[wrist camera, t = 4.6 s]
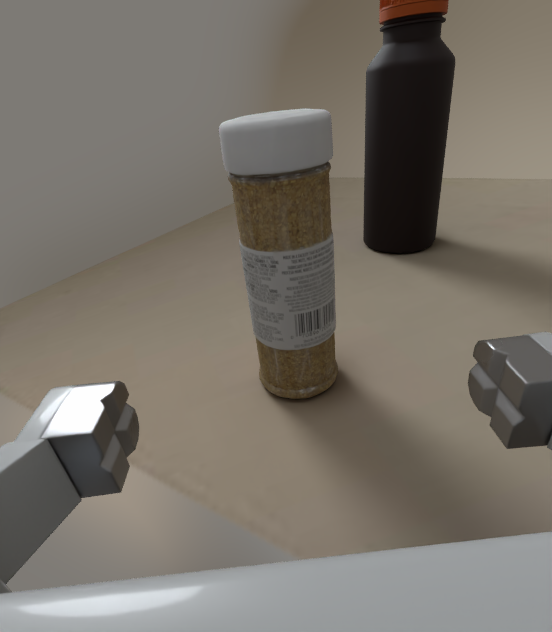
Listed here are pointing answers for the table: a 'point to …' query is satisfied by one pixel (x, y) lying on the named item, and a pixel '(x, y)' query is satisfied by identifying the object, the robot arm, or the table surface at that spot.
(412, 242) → the vinegar
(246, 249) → the sprinkles bottle
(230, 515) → the table surface
